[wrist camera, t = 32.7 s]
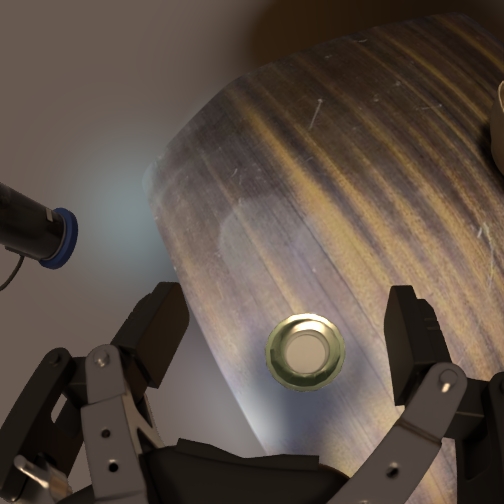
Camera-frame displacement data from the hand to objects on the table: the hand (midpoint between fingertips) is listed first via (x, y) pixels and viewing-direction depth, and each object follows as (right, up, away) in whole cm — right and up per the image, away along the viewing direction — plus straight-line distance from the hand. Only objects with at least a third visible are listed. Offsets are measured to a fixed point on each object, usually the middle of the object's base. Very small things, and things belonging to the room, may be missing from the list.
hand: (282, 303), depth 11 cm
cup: (+5, -9, +21) cm, 23 cm away
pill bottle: (+5, -9, +20) cm, 23 cm away
